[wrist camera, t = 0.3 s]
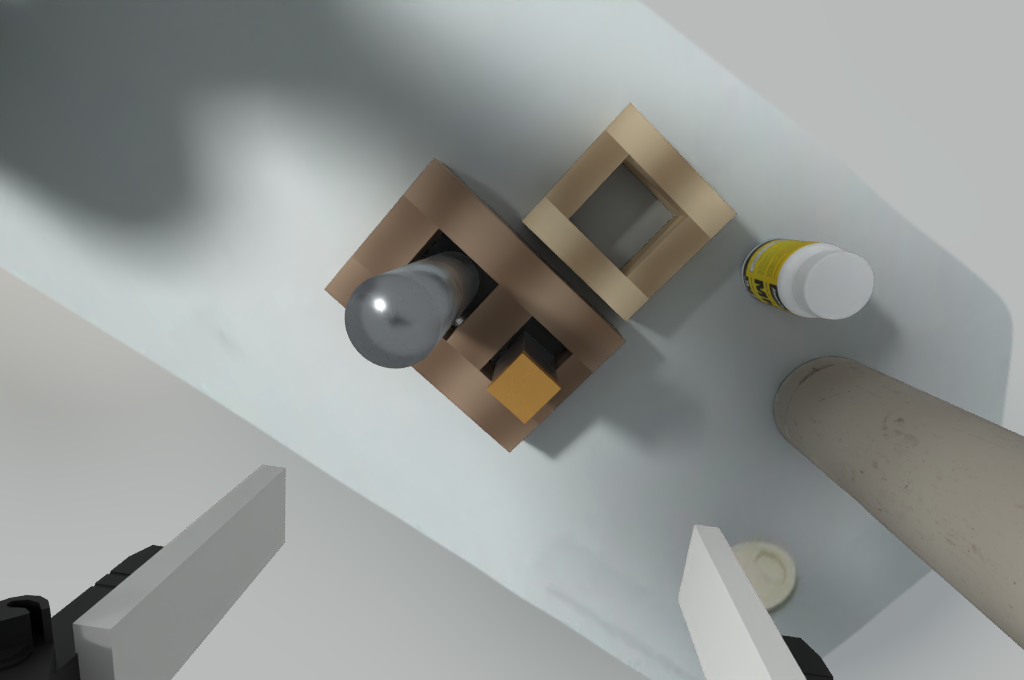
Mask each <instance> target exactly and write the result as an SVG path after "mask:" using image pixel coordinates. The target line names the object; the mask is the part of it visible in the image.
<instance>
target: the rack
mask: <svg viewBox="0 0 1024 680" xmlns="http://www.w3.org/2000/svg"><path fill="white" fill-rule="evenodd" d="M621 163H623V164H624V165H625V166H626V167H627V168H628V169H629V170H630V171H631V172H632V173H633V174H634V175H635V176H636V177H637V178H638V179H639V180H640V181H641V182H642V183H643V184H644V185H645V186H646V187H647V188H648V189H649V190H650V191H651V192H652V193H653V194H654V195H655V196H656V197H657V198H658V200H659V201H660V202H661V203H662V204H663V205H664V206H665V207H666V208H667V209H668V210H669V211H670V212H671V213H672V214H673V215H674V217H673V218H672V219H671V220H670V221H669V222H668V223H667V224H666V225H665V226H664V227H663V228H662V229H661V230H660V231H659V232H658V233H657V234H656V235H655V236H654V237H653V238H652V239H651V240H650V241H649V242H648V243H647V244H646V245H645V246H644V247H643V248H642V249H641V250H640V251H639V252H638V253H637V254H636V255H635V256H634V257H633V258H632V259H631V260H630V261H629V262H628V263H627V264H626V265H625V266H624V267H623V268H622V269H621V270H619V269H618V268H617V267H616V266H615V265H614V264H613V263H612V262H611V261H610V260H609V259H608V258H607V257H606V256H605V255H604V254H603V253H602V252H601V251H600V250H599V249H598V248H597V247H596V246H595V245H594V244H593V243H592V242H591V241H590V240H589V239H588V238H586V237H585V236H584V235H583V234H582V233H581V232H580V231H579V230H578V229H577V228H576V227H575V226H574V225H573V224H572V223H571V222H570V221H569V220H568V219H569V218H570V217H571V216H572V215H573V214H574V213H575V212H576V211H577V210H578V209H579V208H580V206H581V205H582V204H583V203H584V202H585V201H586V200H587V199H588V198H589V197H590V196H591V195H592V194H593V193H594V192H595V191H596V189H597V188H598V187H599V186H600V185H601V184H602V183H603V182H604V181H605V180H606V179H607V178H608V177H609V176H610V175H611V173H612V172H613V171H614V170H615V169H616V168H617V167H618V166H619V165H620V164H621ZM735 215H736V213H735V211H734V210H733V209H732V208H731V207H730V206H729V205H728V204H727V203H726V202H725V201H724V200H723V199H722V198H721V197H720V196H719V195H718V194H717V193H716V192H715V190H714V189H713V188H712V187H711V186H710V185H709V184H708V183H707V182H706V181H705V180H704V179H703V178H702V177H701V176H700V175H699V174H698V173H697V172H696V171H695V170H694V168H693V167H692V166H691V165H690V164H689V163H688V162H687V161H686V160H685V159H684V158H683V157H682V156H681V155H680V154H679V153H678V152H677V151H676V150H675V149H674V147H673V146H672V145H671V144H670V143H669V142H668V141H667V140H666V139H665V138H664V137H663V136H662V135H661V134H660V133H659V132H658V131H657V130H656V129H655V128H654V127H653V125H652V124H651V123H650V122H649V121H648V120H647V119H646V118H645V117H644V116H643V115H642V114H641V113H640V112H639V111H638V110H637V109H636V108H635V107H634V106H633V104H632V103H631V102H630V103H629V104H628V106H627V107H626V108H625V109H624V110H623V111H622V112H621V113H620V114H619V115H618V116H617V118H616V119H615V120H614V121H613V122H612V123H611V124H610V125H609V126H608V127H607V128H606V130H605V131H604V132H603V133H602V134H601V135H600V136H599V137H598V138H597V139H596V141H595V142H594V143H593V144H592V145H591V146H590V147H589V148H588V149H587V150H586V151H585V153H584V154H583V155H582V156H581V157H580V158H579V159H578V160H577V161H576V162H575V163H574V165H573V166H572V167H571V168H570V169H569V170H568V171H567V172H566V173H565V174H564V176H563V177H562V178H561V179H560V180H559V181H558V182H557V183H556V184H555V185H554V186H553V188H552V189H551V190H550V191H549V192H548V193H547V194H546V195H545V196H544V197H543V198H542V200H541V201H540V202H539V203H538V204H537V205H536V206H535V207H534V208H533V209H532V211H531V212H530V213H529V214H528V215H527V216H526V217H525V218H524V219H523V220H522V222H523V223H524V224H525V225H526V226H527V227H528V228H529V229H530V230H531V231H533V232H534V233H535V234H536V235H537V236H538V237H539V238H540V239H541V240H542V241H543V242H544V243H545V244H546V245H547V246H548V247H549V248H550V249H551V250H552V251H553V252H554V253H555V254H556V255H557V256H558V257H559V258H560V259H562V260H563V261H564V262H565V263H566V264H567V265H568V266H569V267H570V268H571V269H572V270H573V271H574V272H575V273H576V274H577V275H578V276H579V277H580V278H581V279H582V280H583V281H584V282H585V283H586V284H587V285H588V286H589V287H590V288H592V289H593V290H594V291H595V292H596V293H597V294H598V295H599V296H600V297H601V298H602V299H603V300H604V301H605V302H606V303H607V304H608V305H609V306H610V307H611V308H612V309H613V310H614V311H615V312H616V313H617V314H618V315H619V316H620V317H622V318H623V319H624V320H625V321H627V320H628V319H629V318H630V317H631V316H632V315H633V314H634V313H635V312H636V311H637V310H638V309H639V308H640V307H641V306H642V305H643V304H644V303H646V302H647V301H648V300H649V299H650V298H651V297H652V296H653V295H654V294H655V293H656V292H657V291H658V290H659V289H660V288H661V287H662V286H663V285H664V284H665V283H666V282H667V281H668V280H669V279H670V278H671V277H672V276H673V275H674V274H675V273H676V272H677V271H678V270H679V269H680V268H682V267H683V266H684V265H685V264H686V263H687V262H688V261H689V260H690V259H691V258H692V257H693V256H694V255H695V254H696V253H697V252H698V251H699V250H700V249H701V248H702V247H703V246H704V245H705V244H706V243H707V242H708V241H709V240H710V239H711V238H712V237H713V236H714V235H715V234H716V233H718V232H719V231H720V230H721V229H722V228H723V227H724V226H725V225H726V224H727V223H728V222H729V221H730V220H731V219H732V218H733V217H734V216H735Z"/></svg>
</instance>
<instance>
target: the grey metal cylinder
mask: <svg viewBox="0 0 1024 680" xmlns="http://www.w3.org/2000/svg"><path fill="white" fill-rule="evenodd" d="M479 284H480V278H479V273H478V270H477V268H476V266H475V264H474V263H473V262H472V261H471V259H469V258H468V257H467V256H465V255H464V254H461V253H459V252H454V251H446V252H442V253H439V254H436V255H433V256H430V257H428V258H425V259H422V260H419V261H416V262H413V263H411V264H408V265H405V266H402V267H399V268H396V269H394V270H391V271H388V272H385V273H382V274H380V275H377V276H374V277H371V278H369V279H367V280H366V281H364V282H363V283H361V284H360V285H359V286H358V287H357V288H356V289H355V290H354V292H353V293H352V294H351V296H350V298H349V300H348V303H347V306H346V310H345V326H346V331H347V334H348V336H349V339H350V341H351V342H352V344H353V346H354V347H355V348H356V350H357V351H358V352H359V353H360V354H361V355H362V356H363V357H365V358H366V359H367V360H369V361H371V362H372V363H374V364H377V365H379V366H382V367H386V368H405V367H409V366H412V365H415V364H416V363H418V362H420V361H422V360H423V359H424V358H425V357H426V356H428V355H429V353H430V352H431V351H432V350H433V348H434V347H435V346H436V345H437V343H438V342H439V341H440V340H441V338H442V337H443V336H444V335H445V333H446V332H447V331H448V330H449V328H450V327H451V326H452V325H453V323H454V322H455V321H456V320H457V318H458V317H459V316H460V315H461V313H462V312H463V311H464V310H465V308H466V307H467V306H468V305H469V303H470V302H471V301H472V300H473V298H474V297H475V295H476V294H477V291H478V289H479Z"/></svg>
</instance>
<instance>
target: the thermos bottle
mask: <svg viewBox="0 0 1024 680" xmlns="http://www.w3.org/2000/svg"><path fill="white" fill-rule="evenodd" d="M774 417H775V422H776V425H777V427H778V430H779V431H780V432H781V434H782V435H783V437H784V438H785V439H786V440H788V441H789V442H790V443H791V444H792V445H793V446H794V447H795V448H797V449H798V450H799V451H800V452H801V453H802V454H803V455H804V456H806V457H807V458H808V459H809V460H810V461H811V462H812V463H813V464H815V465H816V466H817V467H818V468H819V469H820V470H821V471H822V472H824V473H825V474H826V475H827V476H828V477H829V478H830V479H832V480H833V481H834V482H835V483H836V484H837V485H839V486H840V487H841V488H842V489H844V490H845V491H846V492H847V493H849V494H850V495H851V496H852V497H853V498H854V499H855V500H857V501H858V502H859V503H860V504H861V505H862V506H863V507H864V508H865V509H866V510H867V511H868V512H869V513H870V514H871V515H872V516H873V517H875V518H876V519H877V520H878V521H879V522H880V523H881V524H882V525H884V526H885V527H886V528H887V529H888V530H889V531H890V532H891V533H893V534H894V535H895V536H896V537H897V538H898V539H899V540H900V541H902V542H903V543H904V544H905V545H906V546H907V547H908V548H909V549H911V550H912V551H913V552H914V553H915V554H916V555H917V556H919V557H920V558H921V559H922V560H923V561H924V562H925V563H926V564H928V565H929V566H930V567H931V568H932V569H933V570H934V571H935V572H937V573H938V574H939V575H940V576H941V577H942V578H944V579H945V580H946V581H947V582H948V583H949V584H950V585H951V586H952V587H954V588H955V589H956V590H957V591H958V592H959V593H960V594H961V595H963V596H964V597H965V598H966V599H967V600H968V601H969V602H970V603H972V604H973V605H974V606H975V607H976V608H977V609H978V610H980V611H981V612H982V613H983V614H984V615H985V616H986V617H987V618H989V619H990V620H991V621H992V622H993V623H994V624H995V625H997V626H998V627H999V628H1000V629H1001V630H1002V631H1003V632H1004V633H1005V634H1007V635H1008V636H1009V637H1010V638H1011V639H1012V640H1013V641H1015V642H1016V643H1017V644H1018V645H1019V646H1020V647H1021V648H1022V649H1024V437H1023V436H1021V435H1019V434H1017V433H1015V432H1012V431H1010V430H1008V429H1006V428H1003V427H1001V426H999V425H997V424H994V423H992V422H990V421H988V420H986V419H983V418H981V417H979V416H977V415H974V414H972V413H970V412H968V411H965V410H963V409H961V408H959V407H956V406H954V405H952V404H950V403H948V402H945V401H943V400H941V399H939V398H936V397H934V396H932V395H930V394H927V393H925V392H923V391H921V390H919V389H916V388H914V387H912V386H910V385H907V384H905V383H903V382H901V381H898V380H896V379H894V378H892V377H889V376H887V375H885V374H883V373H881V372H878V371H876V370H874V369H872V368H869V367H867V366H865V365H863V364H860V363H858V362H856V361H853V360H850V359H847V358H843V357H823V358H819V359H814V360H812V361H809V362H807V363H805V364H803V365H801V366H800V367H798V368H797V369H795V370H794V371H793V372H792V373H791V374H790V375H789V376H787V378H786V379H785V380H784V382H783V383H782V384H781V386H780V388H779V390H778V392H777V394H776V398H775V402H774Z"/></svg>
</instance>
